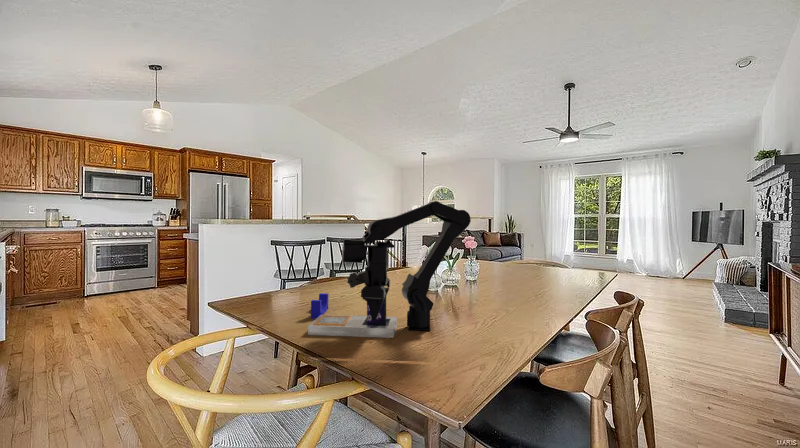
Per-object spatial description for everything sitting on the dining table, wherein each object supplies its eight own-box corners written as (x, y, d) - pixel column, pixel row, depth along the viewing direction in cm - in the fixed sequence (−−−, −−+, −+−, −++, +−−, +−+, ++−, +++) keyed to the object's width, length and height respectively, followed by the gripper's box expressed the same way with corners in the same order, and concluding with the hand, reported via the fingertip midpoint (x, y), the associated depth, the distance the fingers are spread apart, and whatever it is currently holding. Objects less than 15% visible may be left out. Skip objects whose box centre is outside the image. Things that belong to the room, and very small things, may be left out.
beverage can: (364, 328, 103) (364, 288, 103) (382, 326, 105) (382, 287, 105) (370, 334, 98) (370, 292, 98) (389, 332, 100) (389, 290, 100)
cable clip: (315, 309, 125) (316, 293, 125) (328, 310, 125) (328, 293, 125) (306, 319, 113) (306, 300, 113) (320, 319, 113) (320, 301, 113)
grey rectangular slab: (396, 324, 107) (397, 315, 107) (393, 337, 95) (393, 327, 95) (320, 322, 109) (320, 313, 109) (308, 334, 97) (308, 324, 97)
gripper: (356, 258, 111) (355, 307, 111) (342, 265, 93) (341, 324, 93) (390, 259, 111) (389, 308, 111) (384, 267, 92) (382, 326, 92)
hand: (376, 316), depth 101 cm, fingers open, 9 cm apart
